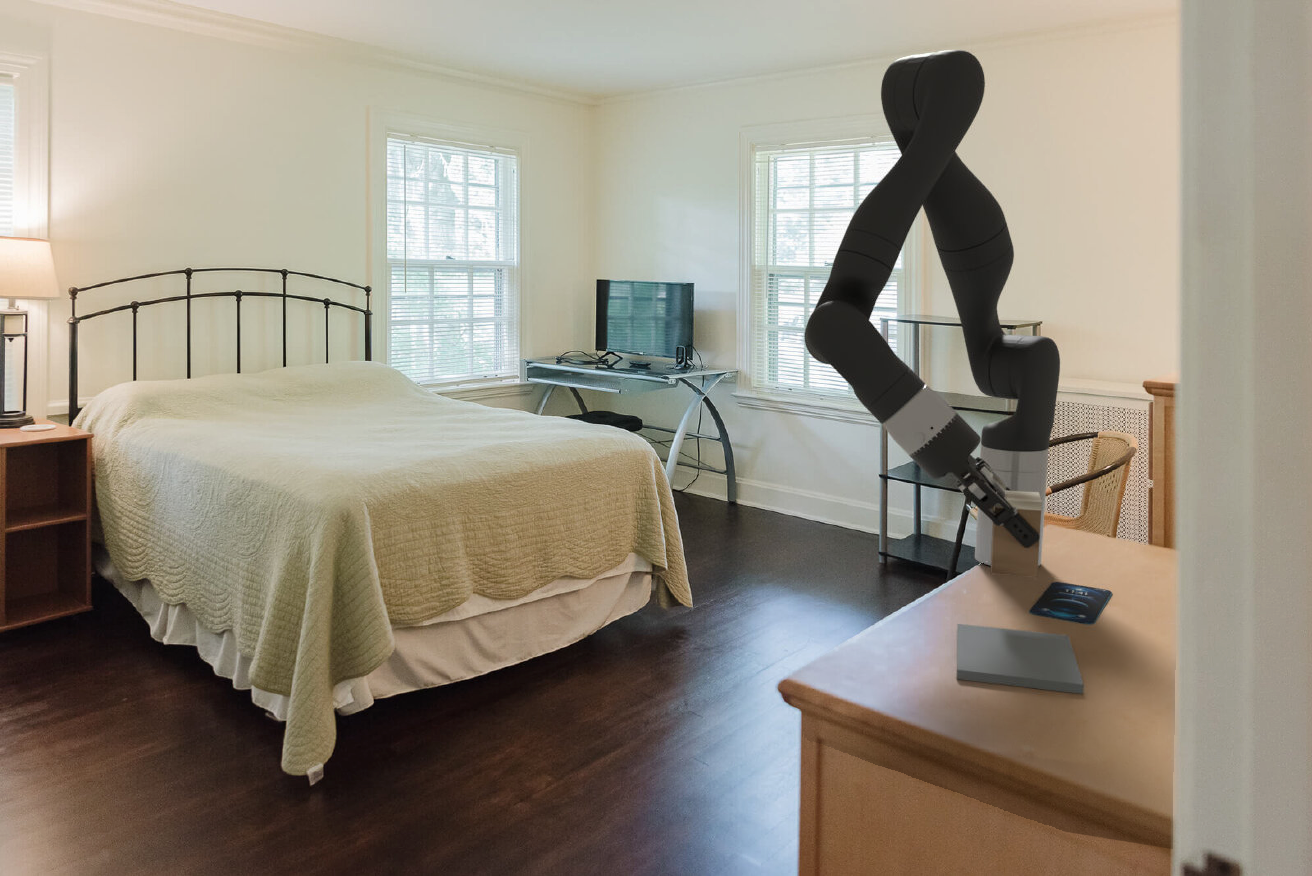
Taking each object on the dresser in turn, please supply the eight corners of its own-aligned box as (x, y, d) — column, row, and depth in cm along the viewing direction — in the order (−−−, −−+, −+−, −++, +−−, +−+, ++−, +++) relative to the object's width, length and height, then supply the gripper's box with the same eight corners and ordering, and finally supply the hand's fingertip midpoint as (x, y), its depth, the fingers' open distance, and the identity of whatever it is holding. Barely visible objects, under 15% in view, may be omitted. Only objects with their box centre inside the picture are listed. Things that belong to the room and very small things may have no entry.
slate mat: (957, 631, 110) (957, 623, 110) (1067, 643, 106) (1068, 635, 106) (956, 678, 97) (957, 669, 97) (1082, 694, 93) (1083, 684, 93)
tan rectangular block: (990, 561, 115) (994, 489, 113) (1034, 564, 113) (1038, 492, 111) (991, 573, 110) (995, 499, 108) (1037, 577, 108) (1041, 502, 107)
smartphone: (1026, 612, 116) (1052, 580, 128) (1026, 617, 116) (1052, 584, 128) (1093, 624, 112) (1113, 590, 124) (1093, 629, 112) (1113, 594, 124)
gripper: (953, 419, 104) (1064, 532, 102) (955, 402, 117) (1052, 502, 116) (902, 463, 106) (1009, 574, 105) (909, 442, 120) (1004, 540, 118)
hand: (1031, 536), depth 110 cm, fingers closed on tan rectangular block, 5 cm apart
